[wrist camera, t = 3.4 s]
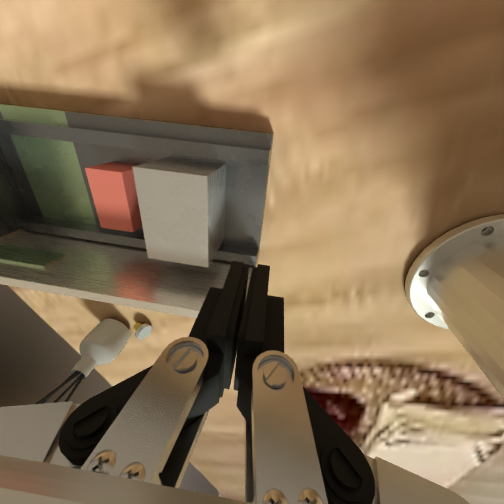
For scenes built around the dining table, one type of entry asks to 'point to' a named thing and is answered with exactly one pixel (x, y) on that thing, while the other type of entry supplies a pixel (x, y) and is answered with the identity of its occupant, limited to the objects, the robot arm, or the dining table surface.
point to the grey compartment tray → (86, 218)
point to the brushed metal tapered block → (182, 209)
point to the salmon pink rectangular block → (115, 196)
